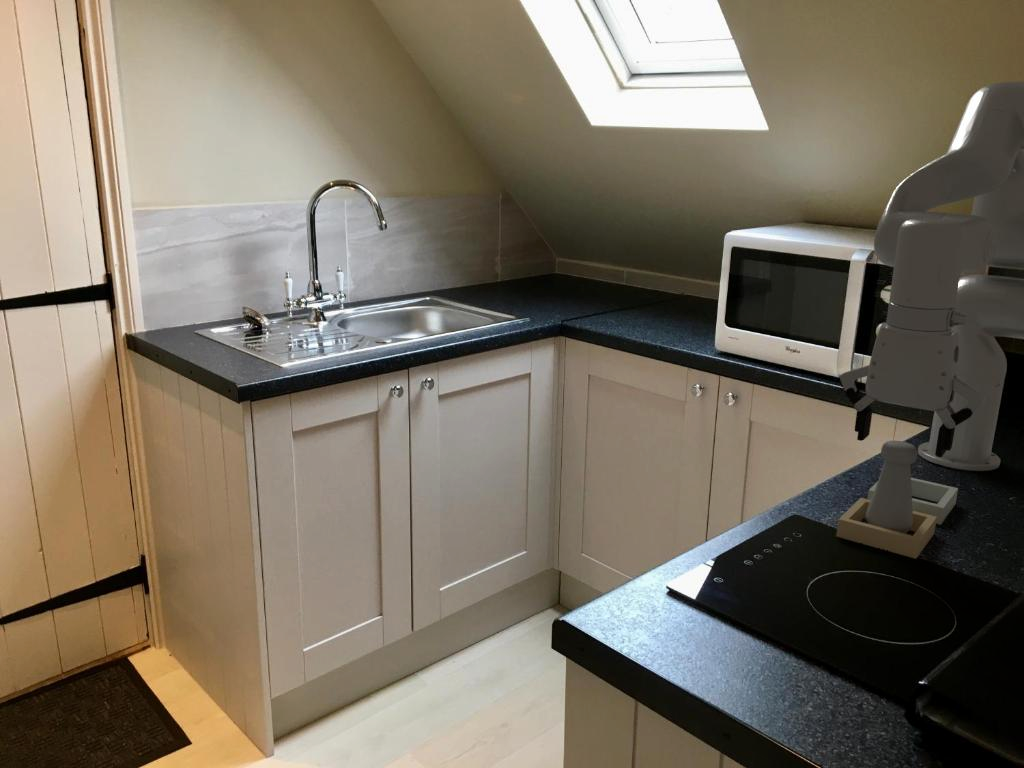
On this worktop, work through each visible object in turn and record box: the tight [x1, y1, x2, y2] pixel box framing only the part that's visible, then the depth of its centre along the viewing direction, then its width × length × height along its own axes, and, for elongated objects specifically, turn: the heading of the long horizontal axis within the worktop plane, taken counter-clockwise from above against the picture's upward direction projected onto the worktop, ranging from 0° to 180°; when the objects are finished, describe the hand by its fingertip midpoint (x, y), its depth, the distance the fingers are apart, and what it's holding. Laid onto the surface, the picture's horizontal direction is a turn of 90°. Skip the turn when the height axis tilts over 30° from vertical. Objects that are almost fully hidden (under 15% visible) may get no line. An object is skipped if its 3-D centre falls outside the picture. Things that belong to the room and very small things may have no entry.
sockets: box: [836, 477, 959, 559], centre depth 120 cm, size 24×10×2 cm, turn 142°
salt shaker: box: [865, 440, 918, 534], centre depth 113 cm, size 6×6×13 cm
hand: (900, 445), depth 112 cm, fingers open, 9 cm apart
